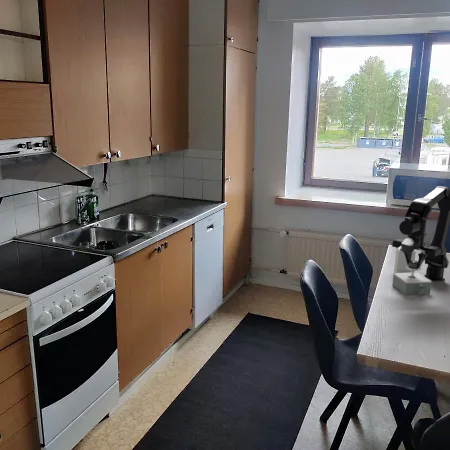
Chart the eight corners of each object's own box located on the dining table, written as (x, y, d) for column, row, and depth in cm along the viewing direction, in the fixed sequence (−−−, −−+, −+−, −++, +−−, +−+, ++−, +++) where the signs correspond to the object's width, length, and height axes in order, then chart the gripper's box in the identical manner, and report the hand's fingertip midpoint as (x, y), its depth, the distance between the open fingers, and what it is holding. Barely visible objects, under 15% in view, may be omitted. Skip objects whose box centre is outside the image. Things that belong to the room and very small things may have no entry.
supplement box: (413, 278, 213) (416, 251, 210) (395, 276, 215) (398, 250, 212) (410, 272, 220) (413, 246, 217) (393, 271, 222) (396, 245, 219)
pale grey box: (415, 284, 206) (417, 272, 205) (434, 296, 193) (435, 283, 191) (392, 285, 204) (393, 273, 203) (409, 297, 191) (410, 285, 190)
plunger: (415, 276, 203) (418, 258, 202) (426, 283, 195) (428, 264, 193) (397, 277, 202) (399, 259, 200) (407, 284, 194) (409, 265, 192)
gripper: (386, 229, 195) (383, 265, 199) (430, 239, 182) (425, 277, 185) (400, 225, 202) (396, 259, 206) (443, 234, 189) (438, 271, 193)
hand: (413, 266), depth 197 cm, fingers closed on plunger, 4 cm apart
